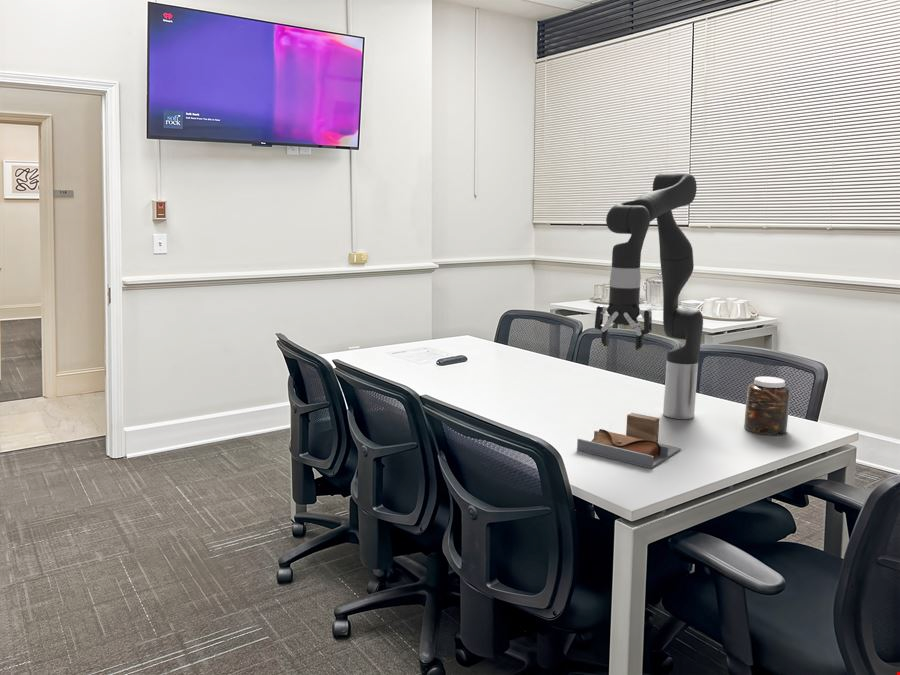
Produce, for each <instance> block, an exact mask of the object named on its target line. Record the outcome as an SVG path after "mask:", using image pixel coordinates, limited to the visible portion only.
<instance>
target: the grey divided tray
mask: <svg viewBox="0 0 900 675" xmlns="http://www.w3.org/2000/svg"><path fill="white" fill-rule="evenodd" d="M598 432H599V430H594V431H593V433H594V434H593V435H594V436H593V438H594V437H595V436H596V434H597V433H598ZM659 434H660V417H656V416H652V415H646V414H642V413H641V414H640V413H636V412H631V413H628V414H627V415H626V430H625V435H626V436H630V437H635V438H638V439H642V440H650V441H654V442H656V443H658V444H659V445H660V448H661V453H660V456H659V457H658V458H656V459H655V460H653V459H654V456H651V455H647V454H642V453H638V452H634V451H630V450H625V449H621V448H617V447H613V446H608V445H604V444H600V443H595V442H591V441H592V440H586V439H583V438H577V443H576V444H577V445H576V446H577V448H576V450H577V451H579V452H583V453H587V452H588V453H587V454H591V455H594V456H595V455H596V456H600V457H602V458H603V457H604V458H609V459H612V460H616V461H620V462H625V463H628V464H632V465H635V466H640V467H644V468H647V469H648V468H649V469H653V468H655V467H656V466H659V465H660V464H661V463H663V462H665V461H666V460H667V459H669V458H671V457H672V456H673V455H676V454H677V453H679V452H680V451H681V450H682V447H679V446H674V445H669V444H666V443H661V442H659Z"/></svg>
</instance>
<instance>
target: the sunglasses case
mask: <svg viewBox="0 0 900 675" xmlns="http://www.w3.org/2000/svg"><path fill="white" fill-rule="evenodd" d="M598 431H599V432H598V433H597V434H596V436H595V437H594V436H593V439H591V440H590V441H591V442H595V443H600V444H604V445H608V446H613V447H617V448H621V449H625V450H630V451H634V452H638V453H642V454H647V455H651V456H654V459H653V460H655V459H656V458H658V457H659V456H660V453H661V448H660V445H659V444H658V443H659V442H658V443H656V442H654V441H650V440H642V439H638V438H635V437H630V436H626V434H623V433H622V434H621V433H616V432H611V431H608V430H606V429H602V428H601V429H600V428H599V429H598Z"/></svg>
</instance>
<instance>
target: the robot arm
mask: <svg viewBox="0 0 900 675" xmlns="http://www.w3.org/2000/svg"><path fill="white" fill-rule="evenodd" d="M652 182H653V183H652V190H651V191H649V192H646V193H643V194H642V195H640V196H638V197H636V198H635V199H633V200H632V199H631V200H629V201H625V202H621V203H618V204H615V205H614V206H612V207H611V208H610V209H609V211H608V212H607V215H606V219H605V222H606V227H607V228H608V229H609V231H611V232H612V233H614V234H621V235H623V234H625V235H630V237H629V239H628V240H627V242H621V243H616V244H615V245H613V247H612V252H611V253H612V255H611V269H610V277H609V293H608V294H609V295H608V296H609V298H608V306H604V305H598V306H597V307H596V308H595V309H596V310H595V321H594V328H595V329H596V330H599V331H601V344H602V345H603V347H609V344H610V331H609V330H610V329H611V327H612V326H613V325H618V326H619V325H623V326H631V329H633V330H634V332H635V333H636V335H635V350H637V351H640V350H641V348H643V347H644V336H645V335H649V334H650V333H651V332H652V331H653V330H652V323H653V322H652V318H653V316H652V314H653V313H652V309H650V308H649V309H645V310H644V309H640V296H641V295H640V294H641V280H642V279H641V277H642V276H641V261H642V260H641V257H642V249H643V246H644V241H645V239H646V236H647V233H648V230H649V228H650V223H651V222H652V221H654V220H655V219H656V223H657V224H656V225H657V229H658V241H659V242H658V244H659V261H660V269H661V271H660V272H661V280H662V282H661V283H662V292H663V293H662V294H663V299H662V300H663V301H662V302H663V306H662V308H663V309H662V311H663V312H662V313H663V314H662V315H663V316H662V318H663V319H662V321H663V322H662V324H663V326H662V327H663V331H664V334H665V336H666V337H667V338H672V339H677V340H678V339H679V340H683V341H685V343H684V345H683V346H682V347H678V348H673V349H670V350H668V351H667V354H666V365H665V382H664V393H663V394H664V397H663V412H662V414H663V416H665V417H667V418H671V419H677V420H690V419H693V418H695V412H696V411H695V410H696V409H695V408H696V396H697V395H696V394H697V382H698V368H699V358H700V357H699V356H700V352H701V343H702V335H703V329H704V328H703V326H704V317H703V314H702V312H701V311H699V310H696V309H689V308H688V309H687V308H679V296H680V294H681V291H682V290H683V288H684V286H686V284H687V283H688V281H689V279H690V278H691V276H692V274H693V271H694V250H693V246H692V243H691V242H690V240H689V239H688V237H687V236H686V235H685V233H684V232H683V231H682V229H681V228H680V226H679V225H678V223H677V222H676V219H675V218H674V216H673V215H674V214H673V210H675V209H678V208H680V207H685V206H689V205H690V204H692V203H693V202H694V201H695V198H696V195H697V191H698V190H697V181H696V178H695V176H694V175H693V174H692V173H689V172H663V173H662V172H661V173H658V174H656V175H655V177H654V178H653V181H652ZM606 313H607V314H608V316H609V319H608V320H607V321H606V322H605V324H603V323H604V322H603V321H604V315H606ZM640 315H641V318H642V319H643V327H642V325H641V323H640V321H639V319H638V317H640Z"/></svg>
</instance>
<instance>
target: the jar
mask: <svg viewBox="0 0 900 675" xmlns="http://www.w3.org/2000/svg"><path fill="white" fill-rule="evenodd" d="M785 383H786V381H785V380H784V379H783V378H780V377H775V376H756V377H754V381H753V383H752V382H751V383H750V384H749V385H748V387H747V393H746V403H745V412H744V413H745V414H744V423H743V425H744V426H743V427H744V429H745V430H746V431H748V432H750V433H753V434H758V435H763V436H781V435H785V434H786V433H787V430H788V422H789V421H788V420H789V410H790V398H791V389H790V388H789V387H787V386H786V384H785Z"/></svg>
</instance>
